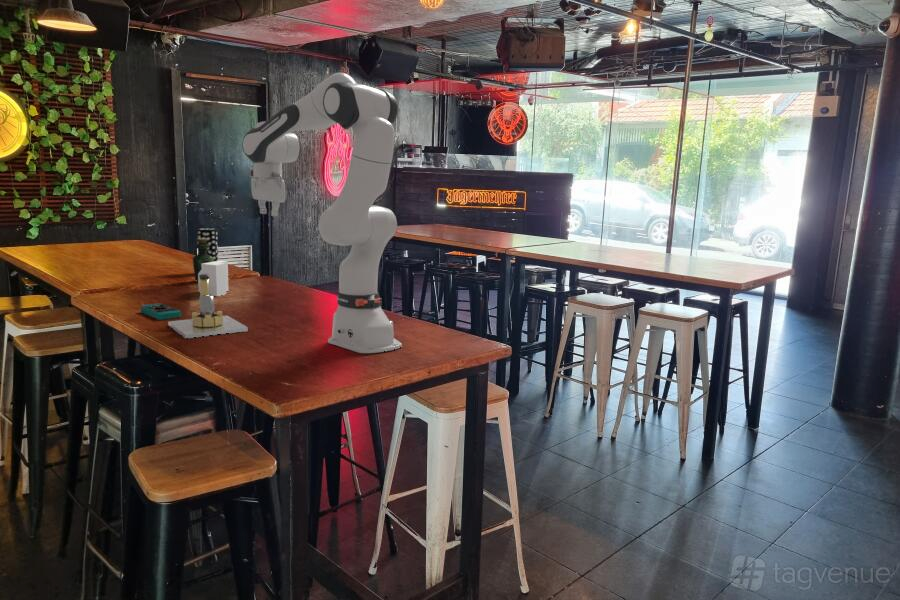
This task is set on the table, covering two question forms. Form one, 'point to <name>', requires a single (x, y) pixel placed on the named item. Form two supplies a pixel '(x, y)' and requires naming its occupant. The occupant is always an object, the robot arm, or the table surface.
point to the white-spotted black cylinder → (209, 241)
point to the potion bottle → (201, 256)
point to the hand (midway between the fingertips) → (268, 214)
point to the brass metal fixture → (208, 319)
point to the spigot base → (193, 331)
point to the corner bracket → (216, 277)
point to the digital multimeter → (160, 311)
